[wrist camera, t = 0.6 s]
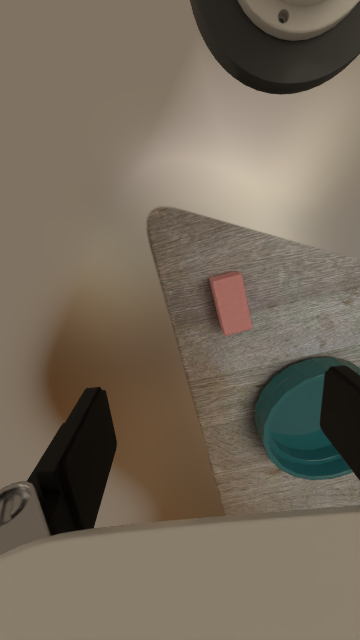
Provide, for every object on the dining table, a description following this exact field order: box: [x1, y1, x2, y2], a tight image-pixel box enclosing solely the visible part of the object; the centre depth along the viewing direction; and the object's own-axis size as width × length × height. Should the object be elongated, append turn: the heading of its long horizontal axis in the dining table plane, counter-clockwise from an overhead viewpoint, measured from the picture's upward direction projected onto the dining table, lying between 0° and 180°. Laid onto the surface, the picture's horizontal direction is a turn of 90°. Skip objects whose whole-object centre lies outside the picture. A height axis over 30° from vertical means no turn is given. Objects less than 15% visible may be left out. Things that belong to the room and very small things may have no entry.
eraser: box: [209, 271, 252, 336], centre depth 26 cm, size 6×3×2 cm, turn 16°
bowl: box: [254, 357, 360, 480], centre depth 30 cm, size 15×15×4 cm
